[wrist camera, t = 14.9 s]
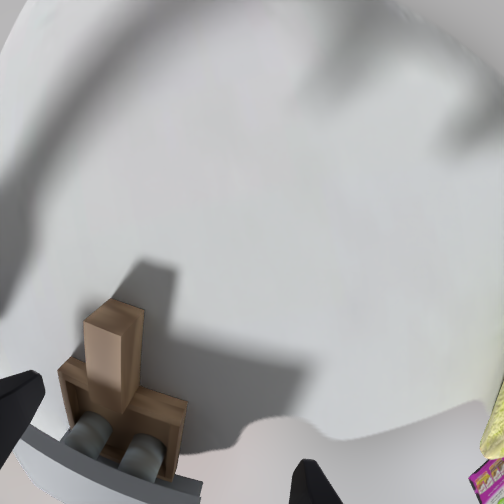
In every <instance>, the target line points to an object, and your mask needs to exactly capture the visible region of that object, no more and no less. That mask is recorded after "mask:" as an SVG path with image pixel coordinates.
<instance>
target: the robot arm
mask: <svg viewBox="0 0 504 504" xmlns="http://www.w3.org/2000/svg"><path fill="white" fill-rule="evenodd" d="M44 396H45V387H44V383H43V379H42V376H41V375H40V374H39V373H37V372H36V371H34V370H29V371H25V372H22V373H19V374H16V375H13V376H9V377H6V378H3V379H0V469H1V468H2V466H3V465H4V463H5V461H6V460H7V458H8V457H9V455H10V453H11V452H12V450H13V449H14V447H15V446H16V444H17V443H18V441H19V440H20V438H21V437H22V435H23V434H24V432H25V431H26V429H27V427H28V426H29V424H30V422H31V420H32V419H33V417H34V415H35V413H36V411H37V409H38V407H39V405H40V403H41V402H42V400H43V398H44ZM289 504H343V502H342V501H341V499H340V498H339V496H338V495H337V493H336V492H335V490H334V489H333V487H332V486H331V484H330V482H329V481H328V479H327V478H326V476H325V475H324V473H323V471H322V470H321V468H320V467H319V465H318V464H317V462H316V461H315V460H312V459H302V460H301V461H300V463H299V464H298V466H297V467H296V469H295V471H294V472H293V476H292V483H291V491H290V498H289Z"/></svg>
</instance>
